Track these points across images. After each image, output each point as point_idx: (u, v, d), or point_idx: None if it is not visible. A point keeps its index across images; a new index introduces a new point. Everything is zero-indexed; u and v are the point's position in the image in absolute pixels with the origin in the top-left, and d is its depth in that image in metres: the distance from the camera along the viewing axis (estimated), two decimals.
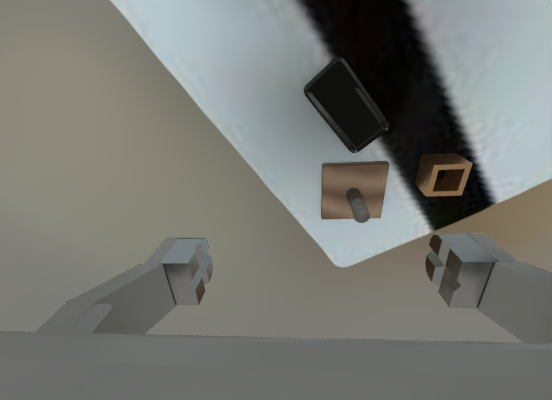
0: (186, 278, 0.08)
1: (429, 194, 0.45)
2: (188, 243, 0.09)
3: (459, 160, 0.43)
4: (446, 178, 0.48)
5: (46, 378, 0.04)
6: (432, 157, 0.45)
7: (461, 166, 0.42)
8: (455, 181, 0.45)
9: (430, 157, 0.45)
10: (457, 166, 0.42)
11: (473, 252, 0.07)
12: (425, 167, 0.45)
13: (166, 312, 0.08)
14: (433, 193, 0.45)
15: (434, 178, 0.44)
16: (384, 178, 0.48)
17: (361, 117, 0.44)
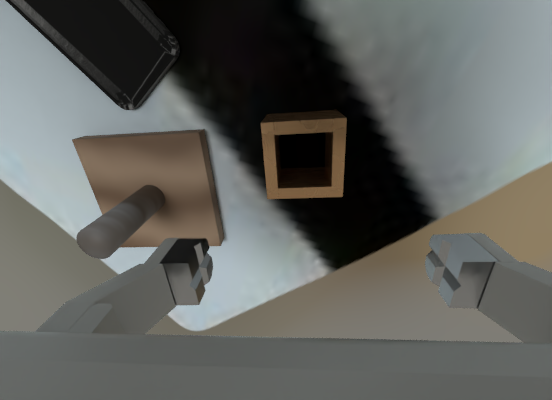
0: (186, 278, 0.08)
1: (273, 195, 0.20)
2: (188, 243, 0.09)
3: (326, 116, 0.19)
4: (325, 165, 0.23)
5: (46, 378, 0.04)
6: (278, 116, 0.21)
7: (324, 125, 0.18)
8: (329, 166, 0.20)
9: (276, 115, 0.21)
10: (315, 126, 0.18)
11: (473, 252, 0.07)
12: None
13: (166, 312, 0.08)
14: (280, 192, 0.20)
15: (272, 156, 0.19)
16: (200, 164, 0.23)
17: (112, 26, 0.20)
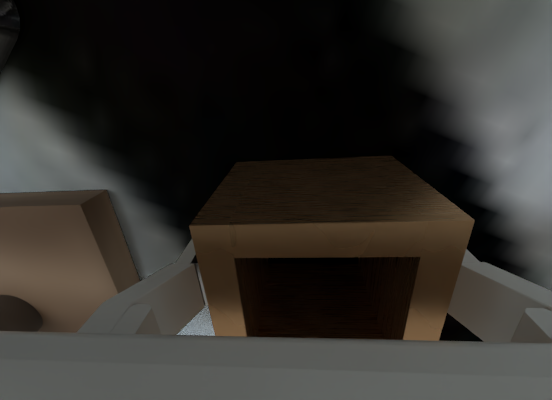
0: None
1: None
2: None
3: (387, 192, 0.07)
4: (362, 268, 0.11)
5: (46, 378, 0.04)
6: (256, 176, 0.08)
7: (392, 237, 0.05)
8: (385, 307, 0.08)
9: (251, 174, 0.09)
10: (364, 242, 0.06)
11: None
12: None
13: (196, 312, 0.08)
14: None
15: (232, 307, 0.07)
16: (96, 264, 0.11)
17: None
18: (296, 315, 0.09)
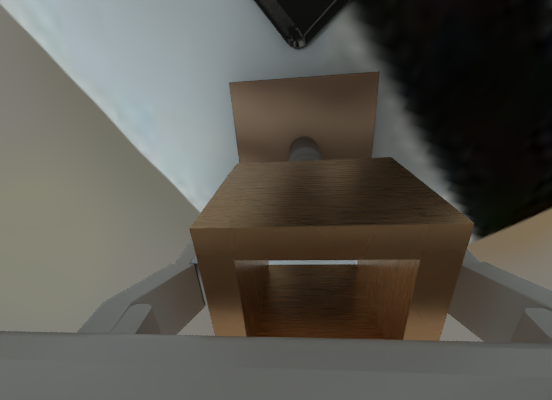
0: None
1: None
2: None
3: (387, 195, 0.07)
4: (362, 270, 0.11)
5: (46, 378, 0.04)
6: (256, 178, 0.08)
7: (393, 240, 0.05)
8: (385, 309, 0.08)
9: (252, 176, 0.09)
10: (364, 244, 0.06)
11: None
12: None
13: (196, 312, 0.08)
14: None
15: (233, 309, 0.07)
16: (370, 111, 0.21)
17: None
18: (296, 317, 0.09)
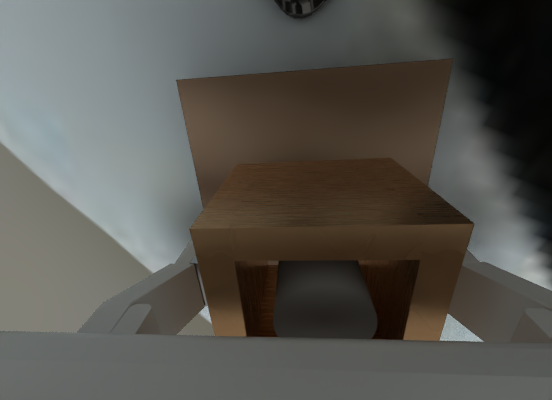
0: None
1: None
2: None
3: (387, 195, 0.07)
4: (362, 270, 0.11)
5: (46, 378, 0.04)
6: (256, 179, 0.08)
7: (392, 240, 0.05)
8: (385, 310, 0.08)
9: (252, 176, 0.09)
10: (365, 245, 0.06)
11: None
12: None
13: (196, 312, 0.08)
14: None
15: (233, 309, 0.07)
16: (428, 130, 0.12)
17: None
18: None
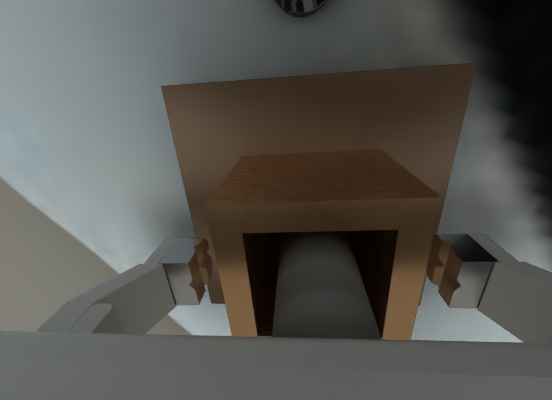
0: (186, 278, 0.08)
1: None
2: (188, 243, 0.09)
3: (373, 178, 0.08)
4: (356, 252, 0.12)
5: (46, 378, 0.04)
6: (259, 167, 0.10)
7: (375, 213, 0.07)
8: (374, 282, 0.09)
9: (255, 166, 0.10)
10: (351, 217, 0.07)
11: (473, 252, 0.07)
12: None
13: (166, 312, 0.08)
14: None
15: (240, 277, 0.08)
16: (446, 143, 0.10)
17: None
18: None
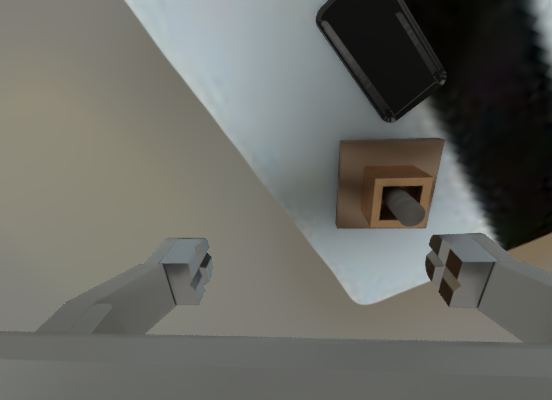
0: (186, 278, 0.08)
1: (375, 224, 0.30)
2: (188, 243, 0.09)
3: (415, 173, 0.29)
4: None
5: (46, 378, 0.04)
6: (377, 170, 0.30)
7: (417, 181, 0.27)
8: None
9: (375, 169, 0.31)
10: (411, 182, 0.27)
11: (473, 252, 0.07)
12: (368, 184, 0.30)
13: (166, 312, 0.08)
14: (380, 222, 0.30)
15: (379, 199, 0.29)
16: (435, 163, 0.31)
17: (403, 63, 0.28)
18: (385, 212, 0.31)
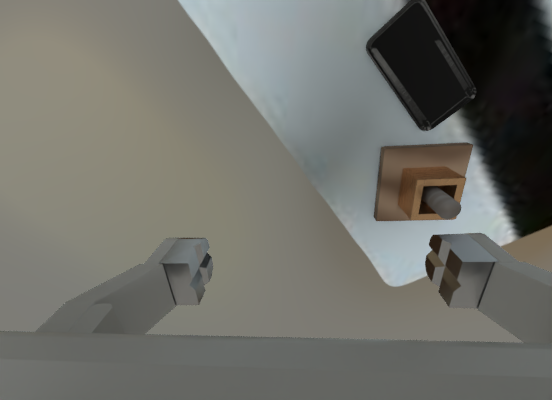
0: (186, 278, 0.08)
1: (414, 217, 0.36)
2: (188, 243, 0.09)
3: (449, 174, 0.34)
4: None
5: (46, 378, 0.04)
6: (415, 171, 0.36)
7: (452, 181, 0.33)
8: None
9: (413, 171, 0.36)
10: (447, 182, 0.33)
11: (473, 252, 0.07)
12: (408, 183, 0.36)
13: (166, 312, 0.08)
14: (419, 216, 0.35)
15: (419, 197, 0.34)
16: (464, 164, 0.37)
17: (439, 82, 0.33)
18: (422, 207, 0.37)
